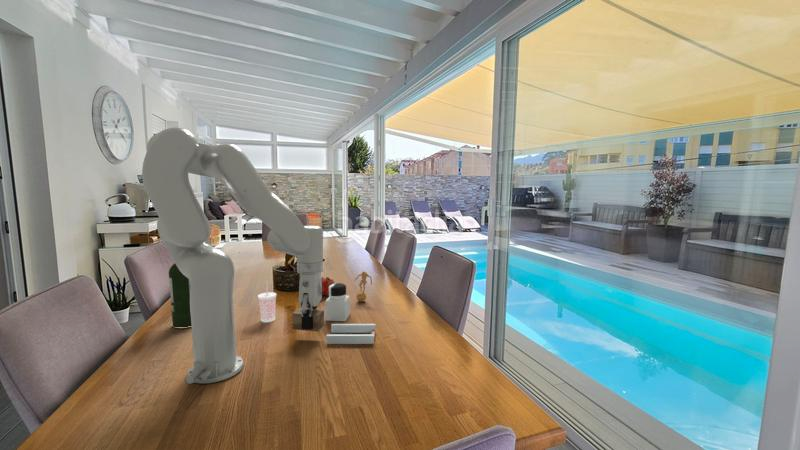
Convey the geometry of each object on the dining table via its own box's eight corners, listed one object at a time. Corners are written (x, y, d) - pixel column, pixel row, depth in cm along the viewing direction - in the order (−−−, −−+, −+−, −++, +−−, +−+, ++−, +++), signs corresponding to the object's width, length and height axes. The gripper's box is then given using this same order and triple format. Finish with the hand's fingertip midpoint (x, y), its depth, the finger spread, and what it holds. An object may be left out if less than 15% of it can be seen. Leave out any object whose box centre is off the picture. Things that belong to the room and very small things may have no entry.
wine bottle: (175, 321, 123) (169, 235, 120) (201, 318, 126) (196, 234, 122) (170, 330, 116) (162, 239, 112) (198, 327, 118) (191, 237, 115)
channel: (373, 343, 106) (373, 335, 106) (326, 343, 106) (326, 335, 106) (375, 331, 115) (375, 323, 115) (331, 331, 115) (331, 323, 115)
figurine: (349, 301, 144) (349, 272, 143) (358, 297, 150) (357, 269, 148) (367, 304, 141) (367, 274, 139) (375, 300, 146) (375, 271, 144)
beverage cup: (255, 322, 123) (253, 282, 121) (265, 315, 129) (264, 277, 127) (270, 324, 121) (269, 283, 120) (281, 317, 127) (279, 278, 126)
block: (318, 331, 107) (318, 315, 106) (292, 329, 108) (292, 313, 107) (323, 325, 111) (324, 309, 111) (299, 323, 113) (299, 307, 112)
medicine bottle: (350, 314, 130) (349, 282, 129) (345, 321, 123) (344, 287, 122) (331, 313, 131) (330, 281, 130) (325, 321, 124) (324, 287, 122)
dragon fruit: (310, 301, 148) (333, 299, 157) (321, 293, 144) (344, 290, 153) (304, 283, 152) (327, 281, 161) (315, 274, 147) (338, 272, 156)
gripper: (316, 273, 99) (315, 336, 101) (328, 261, 116) (327, 315, 118) (289, 272, 99) (289, 336, 101) (304, 261, 116) (304, 315, 118)
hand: (309, 324), depth 109 cm, fingers closed on block, 5 cm apart
